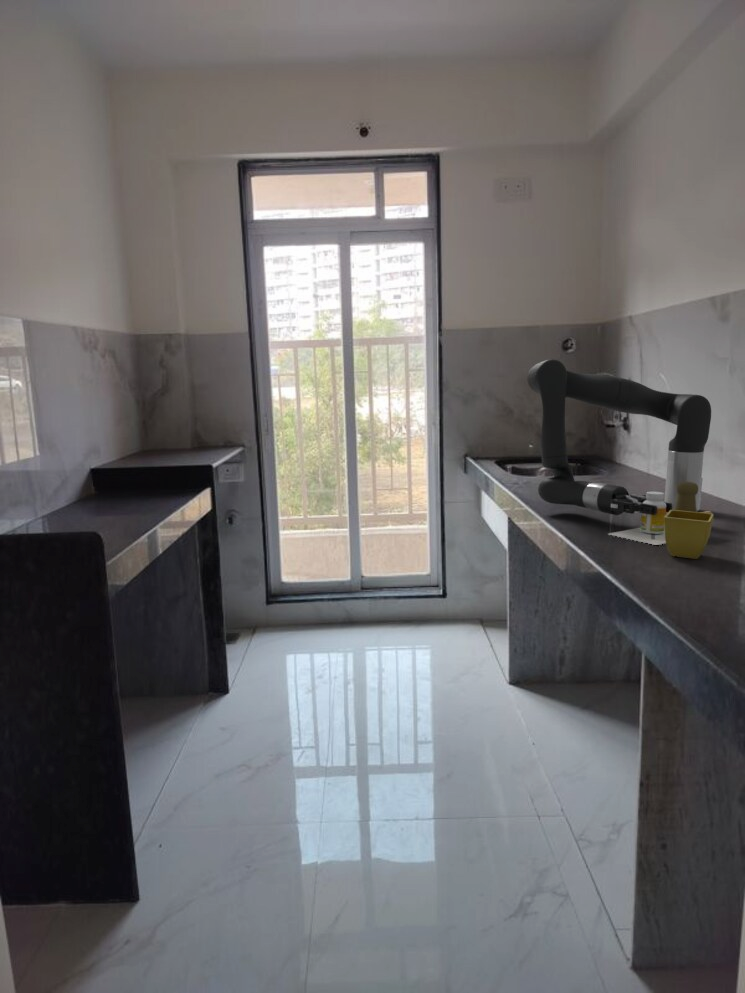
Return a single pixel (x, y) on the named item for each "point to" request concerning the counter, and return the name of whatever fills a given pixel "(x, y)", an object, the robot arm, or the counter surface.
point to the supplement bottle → (654, 522)
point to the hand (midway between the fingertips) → (663, 509)
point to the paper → (641, 536)
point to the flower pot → (687, 532)
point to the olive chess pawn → (686, 496)
